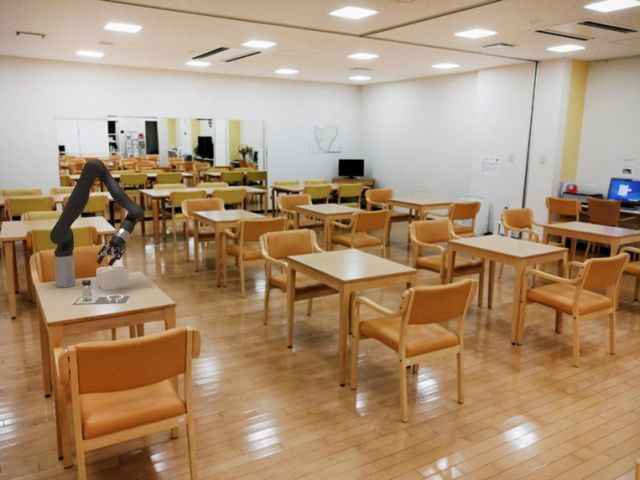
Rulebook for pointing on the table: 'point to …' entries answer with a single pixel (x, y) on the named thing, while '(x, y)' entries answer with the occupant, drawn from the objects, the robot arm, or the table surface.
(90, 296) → the clear glass bottle
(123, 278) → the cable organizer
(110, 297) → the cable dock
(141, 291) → the table surface
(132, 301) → the table surface
